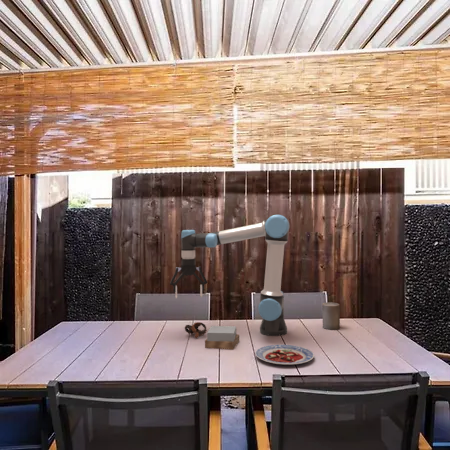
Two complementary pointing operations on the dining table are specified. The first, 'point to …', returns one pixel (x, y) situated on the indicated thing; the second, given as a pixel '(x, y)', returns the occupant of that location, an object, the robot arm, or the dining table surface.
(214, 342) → the base slab
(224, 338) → the top slab
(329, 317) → the pillar candle
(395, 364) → the dining table surface
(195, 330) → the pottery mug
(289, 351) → the ceramic plate
